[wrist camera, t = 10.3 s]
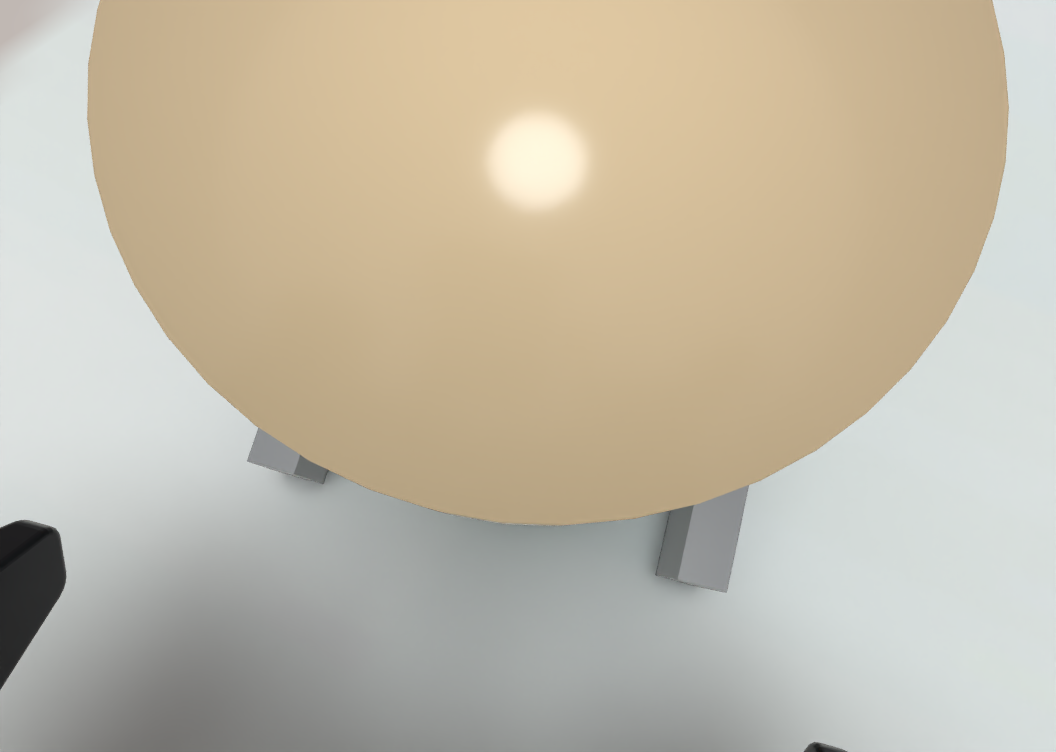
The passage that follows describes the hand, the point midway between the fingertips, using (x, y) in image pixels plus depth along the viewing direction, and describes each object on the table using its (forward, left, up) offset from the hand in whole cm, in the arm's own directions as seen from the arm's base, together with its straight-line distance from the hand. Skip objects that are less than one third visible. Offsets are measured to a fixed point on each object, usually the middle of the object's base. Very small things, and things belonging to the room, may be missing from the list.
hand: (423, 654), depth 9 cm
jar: (+5, -1, -9) cm, 10 cm away
